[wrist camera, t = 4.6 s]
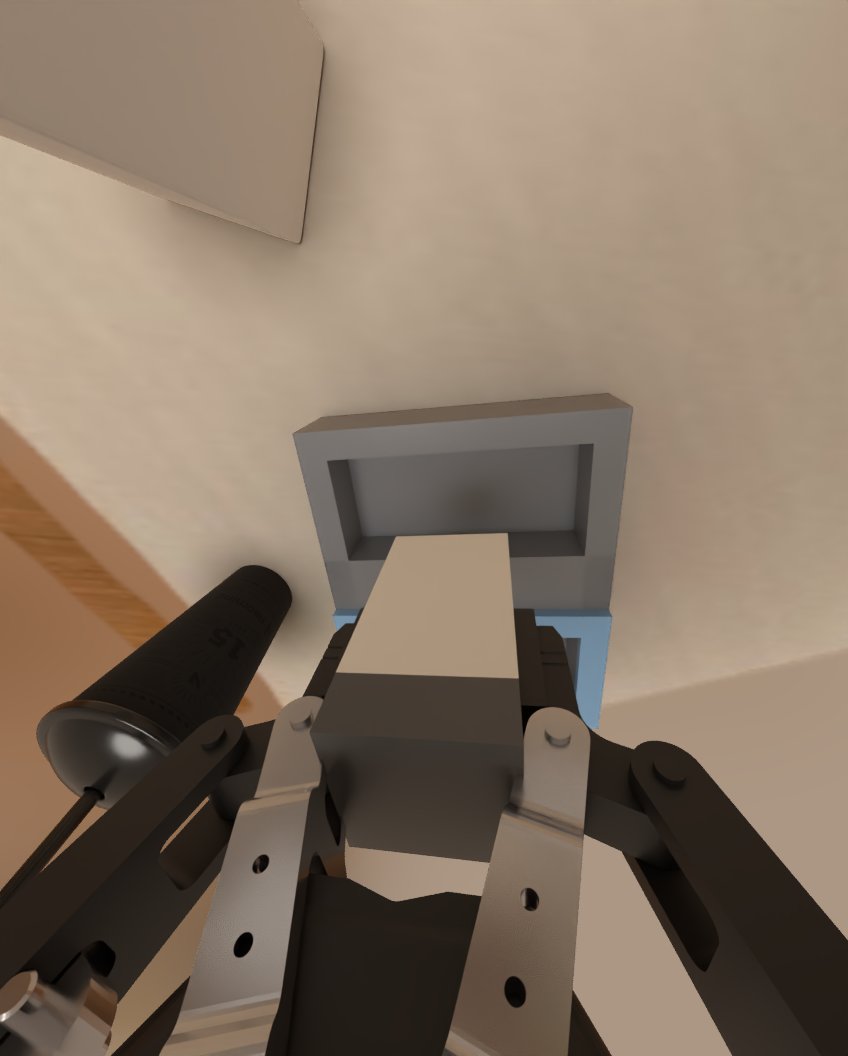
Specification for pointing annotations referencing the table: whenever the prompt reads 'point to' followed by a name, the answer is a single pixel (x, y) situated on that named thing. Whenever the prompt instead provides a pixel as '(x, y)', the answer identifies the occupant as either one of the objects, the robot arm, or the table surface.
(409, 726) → the gray rectangular block
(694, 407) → the table surface
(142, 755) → the drinking cup
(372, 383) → the table surface
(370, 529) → the divided storage tray
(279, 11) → the milk carton
